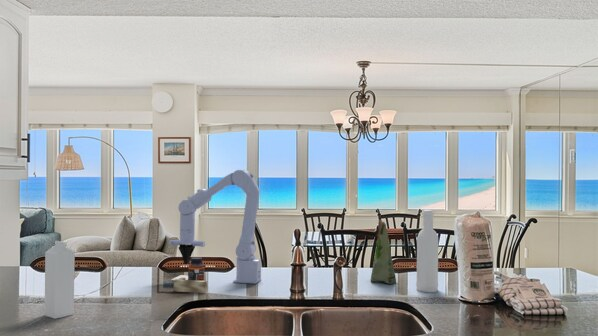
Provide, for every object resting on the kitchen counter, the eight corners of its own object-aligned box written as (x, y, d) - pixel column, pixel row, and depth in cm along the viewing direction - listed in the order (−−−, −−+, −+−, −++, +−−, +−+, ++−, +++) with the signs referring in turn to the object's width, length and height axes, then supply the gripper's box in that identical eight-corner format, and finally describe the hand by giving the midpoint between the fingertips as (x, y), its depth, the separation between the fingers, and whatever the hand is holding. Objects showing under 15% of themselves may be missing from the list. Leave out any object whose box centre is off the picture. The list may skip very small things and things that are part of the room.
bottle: (439, 289, 197) (440, 210, 197) (435, 293, 190) (437, 211, 190) (418, 286, 200) (419, 209, 200) (414, 291, 193) (415, 210, 193)
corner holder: (209, 290, 189) (210, 279, 189) (205, 293, 185) (205, 281, 185) (179, 288, 191) (179, 277, 191) (173, 291, 187) (173, 280, 187)
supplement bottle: (200, 290, 188) (201, 259, 188) (185, 289, 189) (185, 258, 189) (206, 287, 194) (207, 256, 194) (191, 286, 195) (192, 256, 195)
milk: (63, 311, 159) (64, 239, 159) (74, 314, 156) (75, 241, 156) (43, 315, 154) (45, 241, 155) (54, 319, 151) (55, 243, 151)
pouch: (384, 286, 200) (385, 221, 200) (361, 281, 209) (362, 219, 209) (402, 282, 207) (403, 220, 207) (379, 277, 216) (380, 217, 216)
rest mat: (201, 277, 211) (201, 276, 211) (192, 281, 203) (192, 280, 203) (180, 275, 213) (180, 275, 213) (171, 280, 204) (171, 279, 204)
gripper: (165, 230, 205) (165, 264, 205) (200, 231, 203) (199, 266, 203) (173, 228, 212) (172, 261, 212) (207, 229, 210) (206, 263, 210)
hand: (186, 263), depth 208 cm, fingers closed
